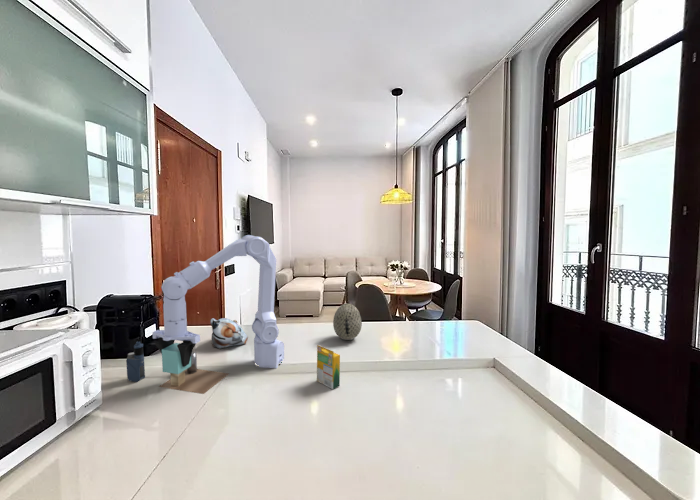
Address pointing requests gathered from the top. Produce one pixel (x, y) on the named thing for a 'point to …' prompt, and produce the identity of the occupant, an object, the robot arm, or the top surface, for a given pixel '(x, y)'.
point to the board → (197, 381)
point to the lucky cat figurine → (227, 333)
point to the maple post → (177, 378)
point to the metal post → (193, 364)
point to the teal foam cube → (173, 360)
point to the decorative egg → (347, 322)
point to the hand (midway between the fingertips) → (177, 363)
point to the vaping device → (136, 364)
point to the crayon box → (328, 367)
